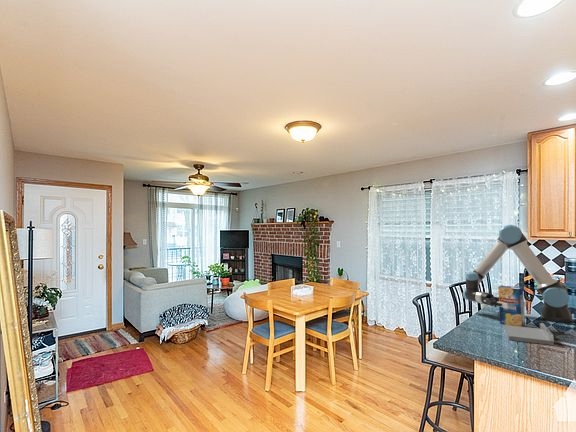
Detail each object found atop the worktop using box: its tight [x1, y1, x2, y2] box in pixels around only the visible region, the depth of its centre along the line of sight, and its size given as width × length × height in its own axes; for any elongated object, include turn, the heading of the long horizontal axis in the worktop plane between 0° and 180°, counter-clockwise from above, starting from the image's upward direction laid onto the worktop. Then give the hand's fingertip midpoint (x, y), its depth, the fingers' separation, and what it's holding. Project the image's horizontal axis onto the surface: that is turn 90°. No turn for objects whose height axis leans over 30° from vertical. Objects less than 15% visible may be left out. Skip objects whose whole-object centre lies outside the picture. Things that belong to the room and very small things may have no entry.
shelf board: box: [503, 324, 555, 346], centre depth 167 cm, size 22×18×2 cm
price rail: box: [539, 322, 555, 341], centre depth 164 cm, size 22×2×3 cm, turn 151°
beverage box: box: [497, 285, 526, 327], centre depth 190 cm, size 7×11×22 cm, turn 41°
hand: (516, 305), depth 186 cm, fingers open, 13 cm apart
